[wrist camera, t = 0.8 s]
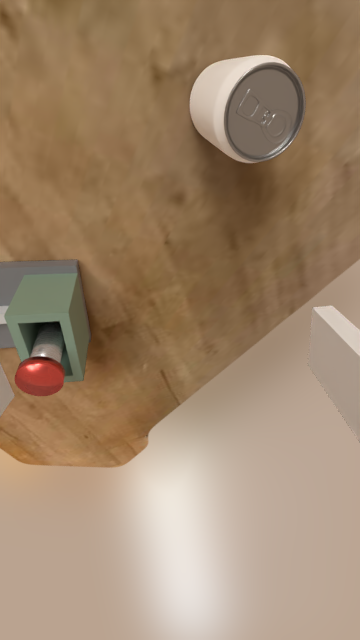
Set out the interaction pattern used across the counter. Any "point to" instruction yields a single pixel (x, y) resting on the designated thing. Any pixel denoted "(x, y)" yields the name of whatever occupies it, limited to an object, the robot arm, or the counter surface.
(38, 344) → the button
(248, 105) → the can
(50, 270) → the track
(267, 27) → the counter surface
